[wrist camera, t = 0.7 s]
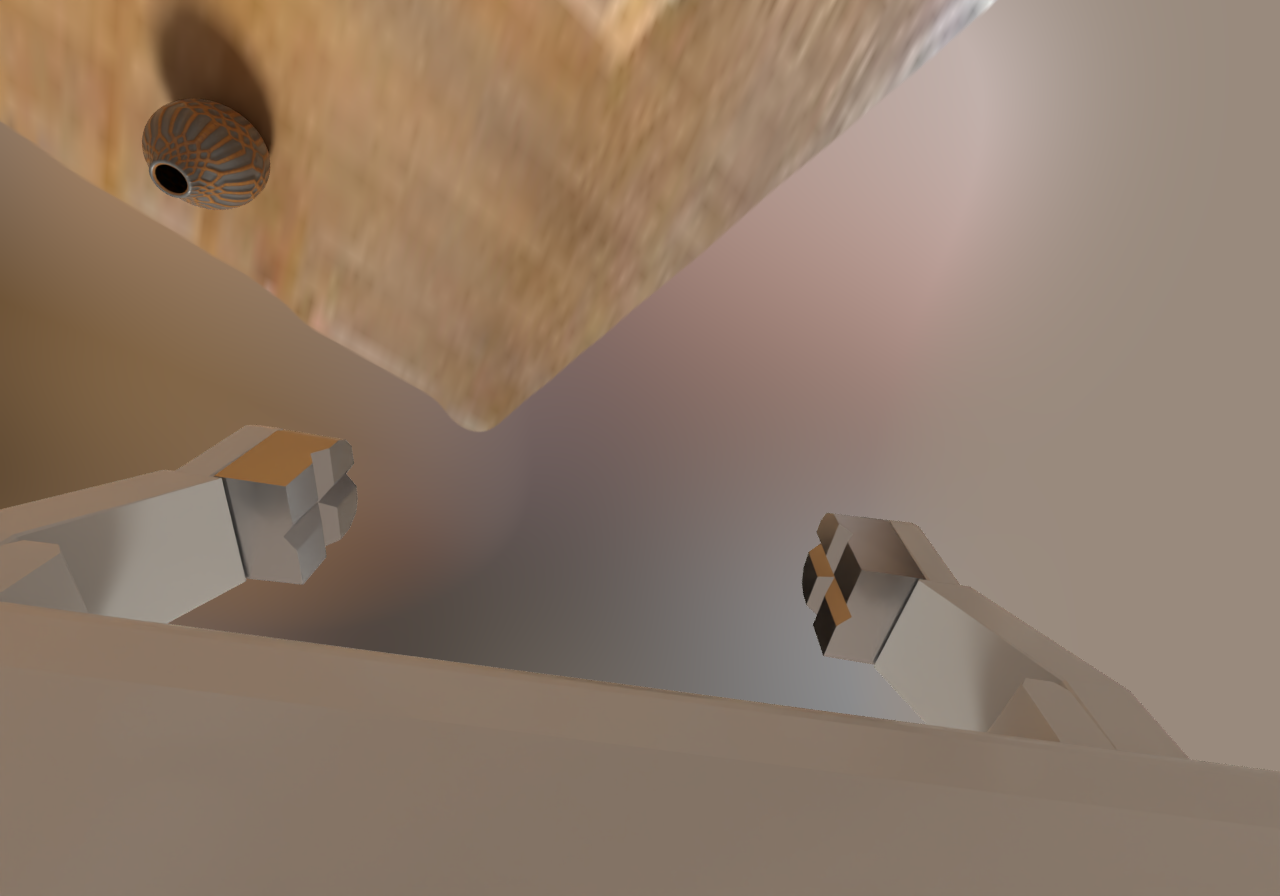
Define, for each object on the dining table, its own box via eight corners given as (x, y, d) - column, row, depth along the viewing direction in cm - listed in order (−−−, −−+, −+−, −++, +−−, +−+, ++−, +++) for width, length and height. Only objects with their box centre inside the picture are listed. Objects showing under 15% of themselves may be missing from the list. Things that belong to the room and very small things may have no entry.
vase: (170, 148, 42) (96, 186, 36) (193, 66, 39) (116, 92, 33) (267, 206, 46) (215, 251, 39) (296, 136, 42) (244, 172, 36)
